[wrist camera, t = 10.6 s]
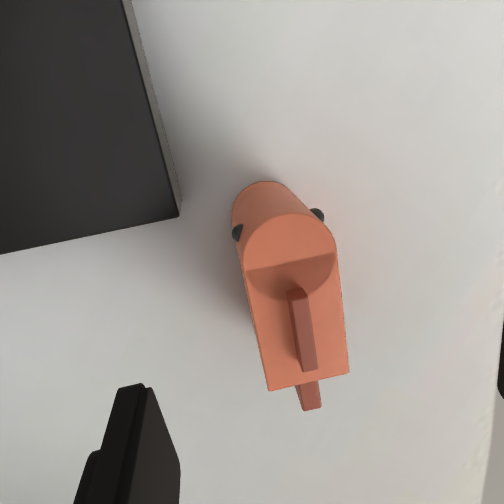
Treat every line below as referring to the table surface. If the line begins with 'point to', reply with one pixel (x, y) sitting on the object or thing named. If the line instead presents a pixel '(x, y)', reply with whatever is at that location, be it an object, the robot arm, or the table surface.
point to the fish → (291, 289)
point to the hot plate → (78, 125)
